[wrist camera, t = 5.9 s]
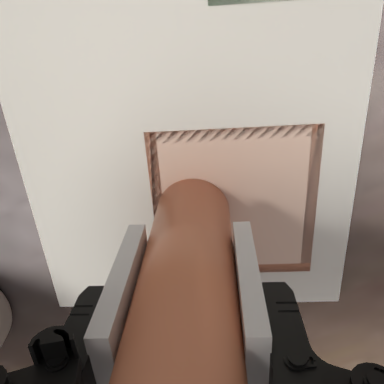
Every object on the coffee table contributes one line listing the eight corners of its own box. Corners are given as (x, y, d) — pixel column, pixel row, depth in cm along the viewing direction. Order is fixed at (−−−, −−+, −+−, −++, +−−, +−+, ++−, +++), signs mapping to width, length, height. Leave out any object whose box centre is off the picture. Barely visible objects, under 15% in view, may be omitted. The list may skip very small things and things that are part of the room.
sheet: (62, 302, 24) (59, 308, 23) (-98, -258, 13) (-109, -268, 12) (336, 296, 23) (339, 302, 22) (427, -322, 12) (436, -336, 11)
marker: (161, 242, 21) (94, 555, 9) (153, 180, 19) (57, 462, 7) (229, 240, 21) (260, 560, 8) (228, 176, 19) (264, 464, 7)
